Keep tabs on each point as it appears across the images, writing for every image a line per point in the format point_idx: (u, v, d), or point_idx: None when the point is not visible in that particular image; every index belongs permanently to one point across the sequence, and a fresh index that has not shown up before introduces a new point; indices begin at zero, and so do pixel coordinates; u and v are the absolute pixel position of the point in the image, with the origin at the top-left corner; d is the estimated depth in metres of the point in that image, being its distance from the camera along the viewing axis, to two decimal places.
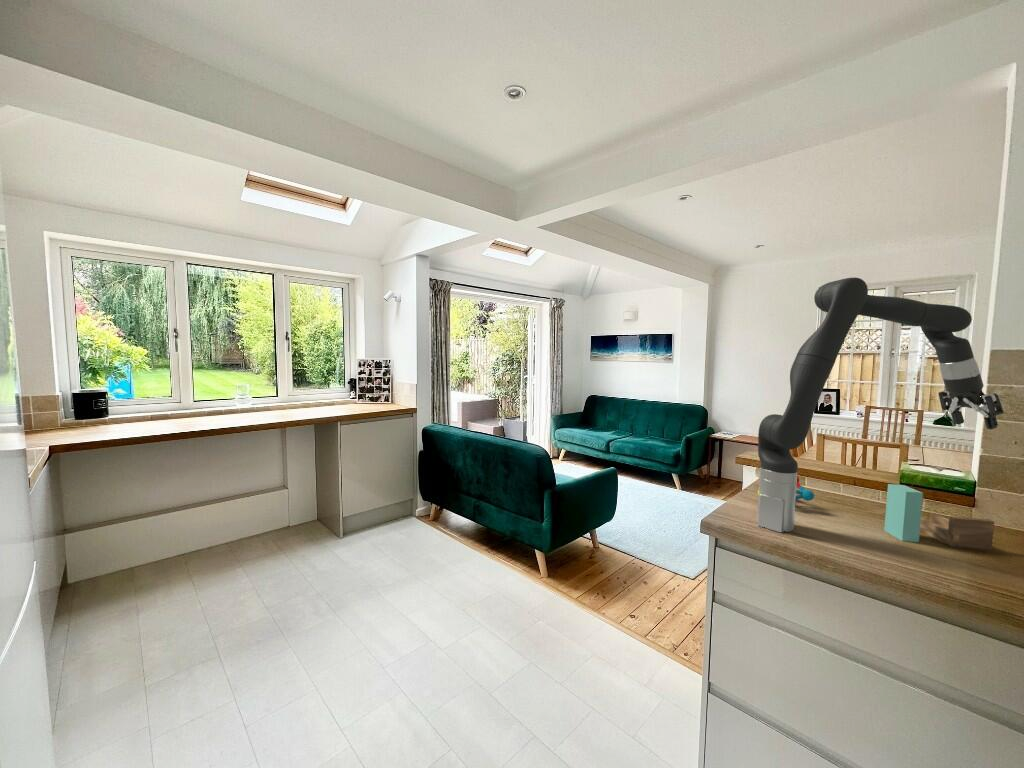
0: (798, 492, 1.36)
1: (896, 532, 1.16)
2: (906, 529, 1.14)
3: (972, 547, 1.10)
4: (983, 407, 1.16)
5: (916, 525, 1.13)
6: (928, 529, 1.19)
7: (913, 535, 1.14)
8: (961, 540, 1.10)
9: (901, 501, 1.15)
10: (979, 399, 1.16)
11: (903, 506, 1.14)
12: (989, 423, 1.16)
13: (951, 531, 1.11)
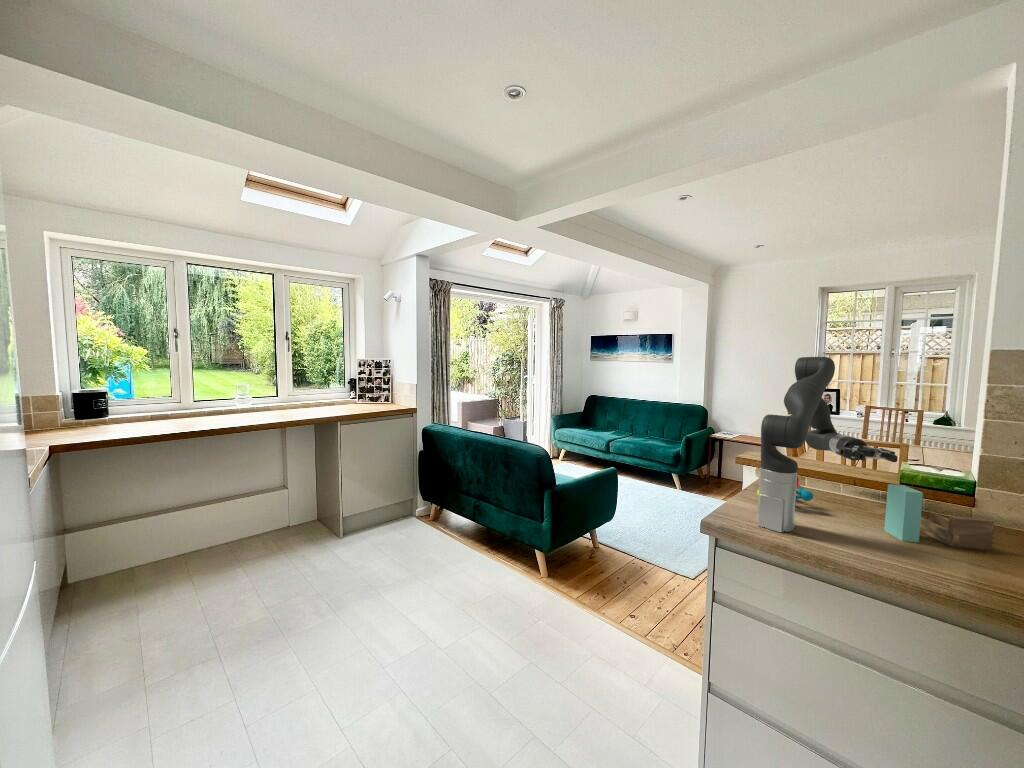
0: (797, 492, 1.36)
1: (896, 532, 1.16)
2: (906, 529, 1.14)
3: (972, 547, 1.10)
4: None
5: (916, 525, 1.13)
6: (928, 529, 1.19)
7: (913, 535, 1.14)
8: (961, 540, 1.10)
9: (901, 501, 1.15)
10: (874, 449, 1.35)
11: (903, 506, 1.14)
12: None
13: (951, 531, 1.11)
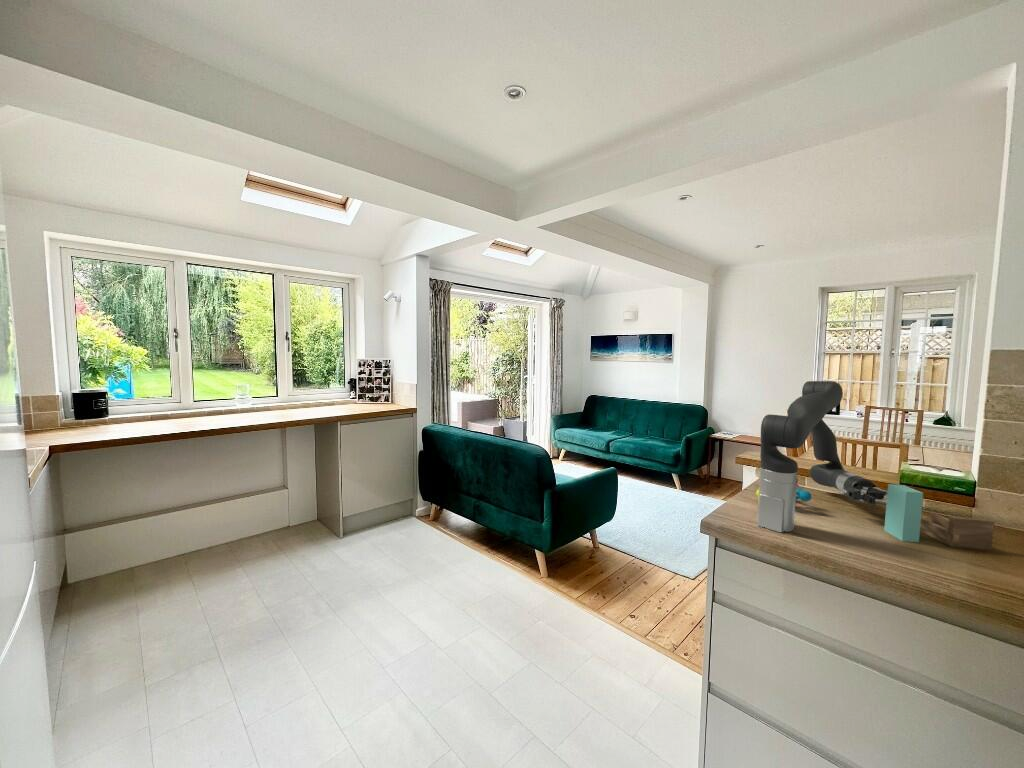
0: None
1: (896, 532, 1.16)
2: (906, 529, 1.14)
3: (972, 547, 1.10)
4: None
5: (916, 525, 1.13)
6: (928, 529, 1.19)
7: (913, 535, 1.14)
8: (961, 540, 1.10)
9: (901, 501, 1.15)
10: None
11: (904, 506, 1.14)
12: None
13: (951, 531, 1.11)
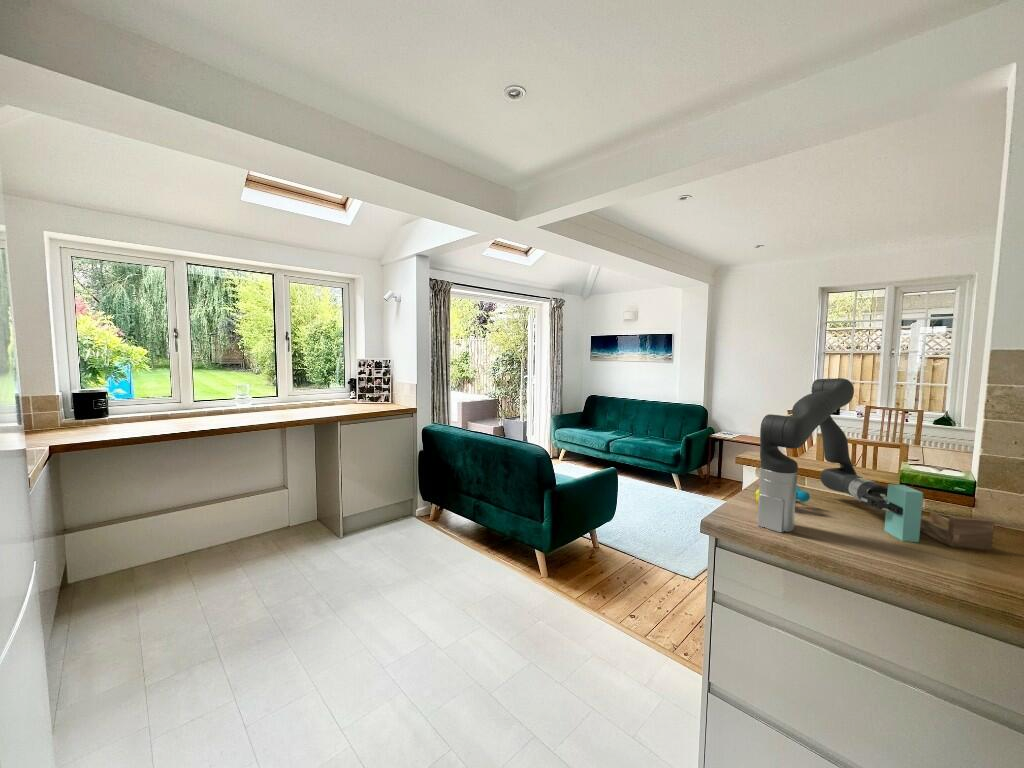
0: None
1: (896, 532, 1.16)
2: (906, 529, 1.14)
3: (972, 547, 1.10)
4: None
5: (916, 525, 1.13)
6: (928, 529, 1.19)
7: (913, 535, 1.14)
8: (961, 540, 1.10)
9: (901, 501, 1.15)
10: None
11: (904, 506, 1.14)
12: None
13: (951, 531, 1.11)
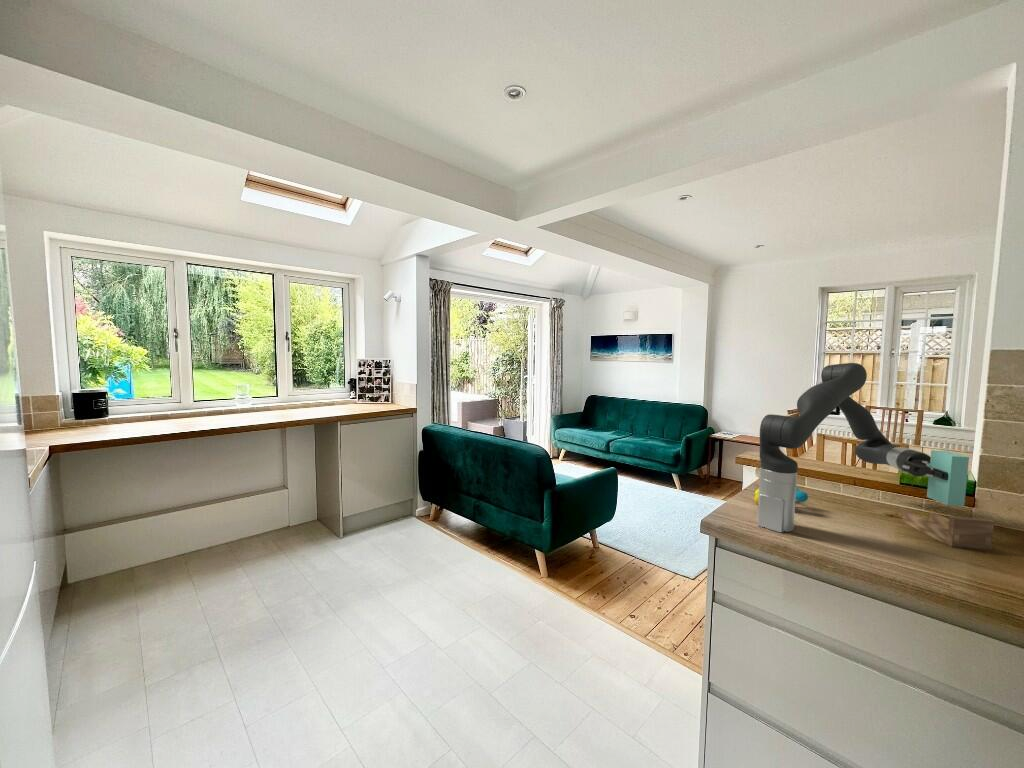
0: None
1: (940, 497, 1.17)
2: (951, 494, 1.14)
3: (972, 547, 1.10)
4: None
5: (962, 489, 1.14)
6: (928, 529, 1.19)
7: (958, 499, 1.14)
8: (961, 540, 1.10)
9: (946, 466, 1.15)
10: None
11: (949, 471, 1.14)
12: None
13: (951, 531, 1.11)
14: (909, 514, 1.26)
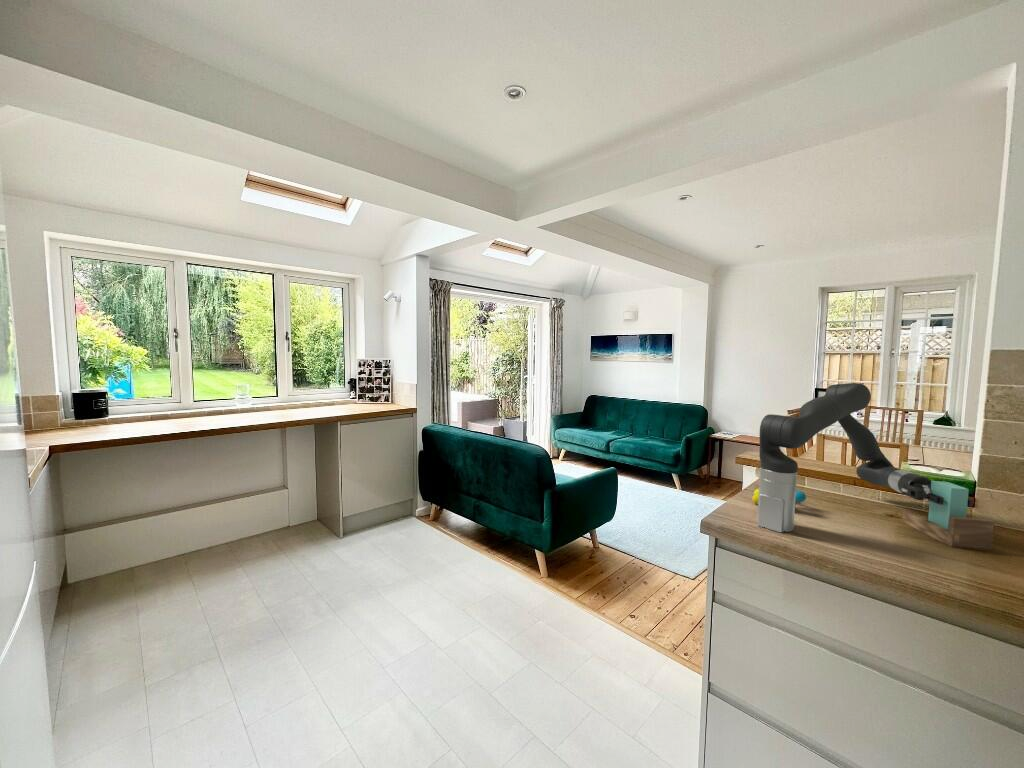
0: None
1: None
2: None
3: (972, 547, 1.10)
4: None
5: None
6: (928, 529, 1.19)
7: None
8: (961, 540, 1.10)
9: (946, 498, 1.16)
10: None
11: (949, 502, 1.15)
12: None
13: (951, 531, 1.11)
14: (909, 514, 1.26)
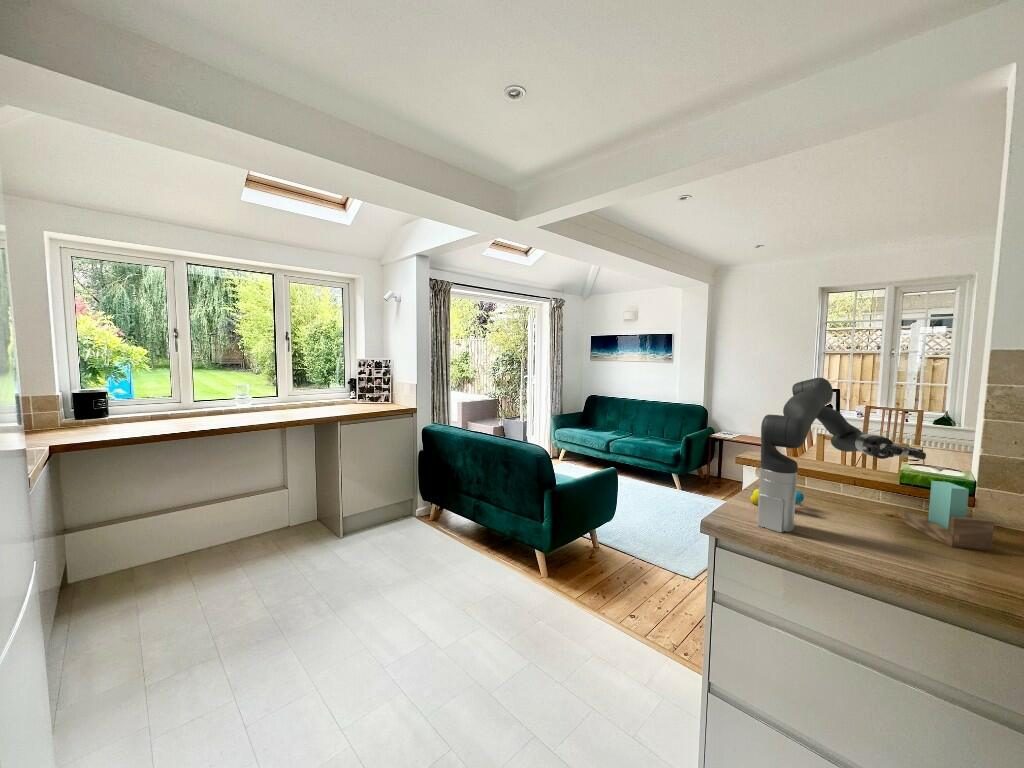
0: None
1: None
2: None
3: (972, 547, 1.10)
4: None
5: None
6: (928, 529, 1.19)
7: None
8: (961, 540, 1.10)
9: (946, 498, 1.16)
10: (902, 448, 1.37)
11: (949, 502, 1.15)
12: None
13: (951, 531, 1.11)
14: (909, 514, 1.26)
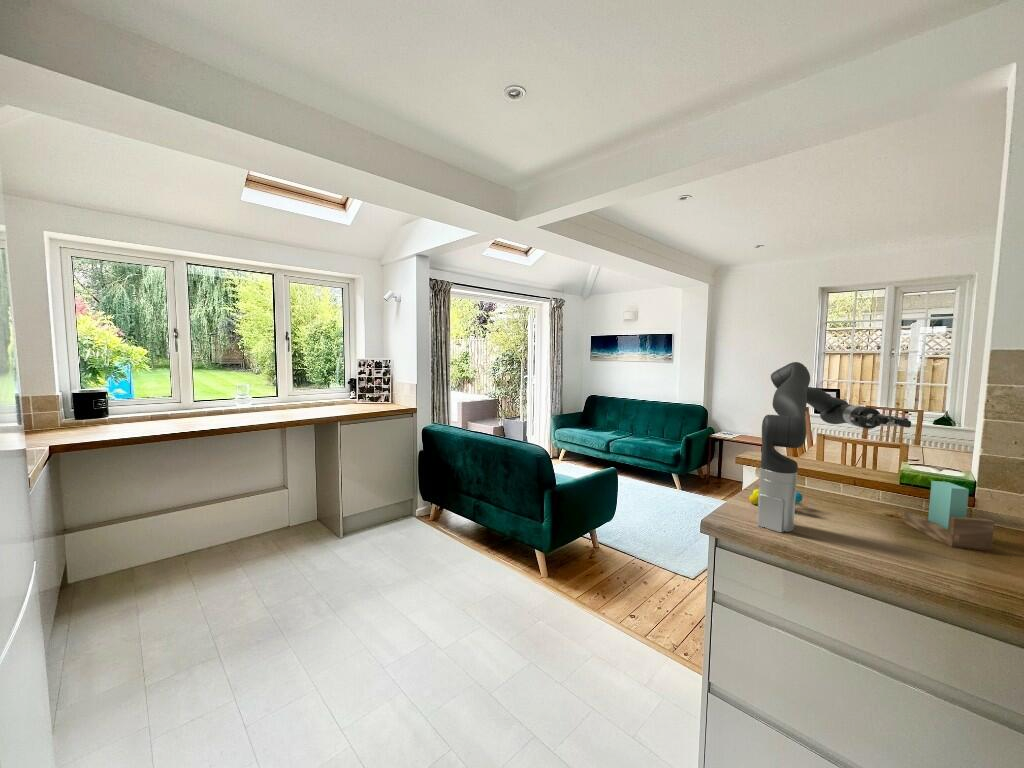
0: None
1: None
2: None
3: (972, 547, 1.10)
4: None
5: None
6: (928, 529, 1.19)
7: None
8: (961, 540, 1.10)
9: (946, 498, 1.16)
10: None
11: (949, 502, 1.15)
12: None
13: (951, 531, 1.11)
14: (909, 514, 1.26)
